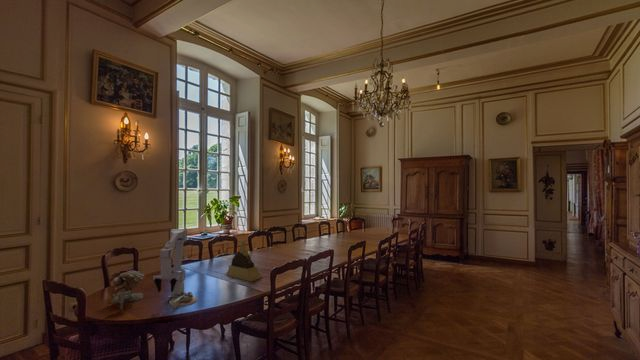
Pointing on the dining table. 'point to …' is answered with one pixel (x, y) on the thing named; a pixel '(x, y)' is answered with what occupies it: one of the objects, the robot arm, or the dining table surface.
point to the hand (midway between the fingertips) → (165, 291)
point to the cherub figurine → (128, 285)
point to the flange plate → (185, 302)
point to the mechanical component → (122, 297)
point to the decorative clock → (243, 265)
